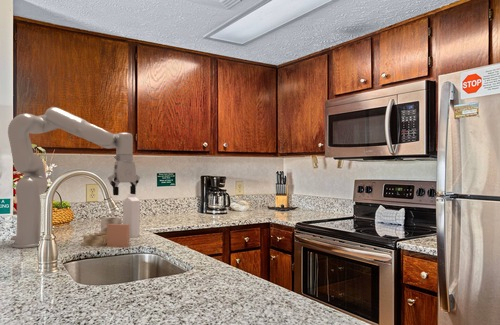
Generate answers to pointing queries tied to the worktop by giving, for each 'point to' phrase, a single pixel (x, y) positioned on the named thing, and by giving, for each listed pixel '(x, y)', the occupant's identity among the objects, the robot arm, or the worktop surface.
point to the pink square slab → (118, 235)
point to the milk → (132, 215)
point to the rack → (101, 237)
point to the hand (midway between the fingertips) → (124, 194)
